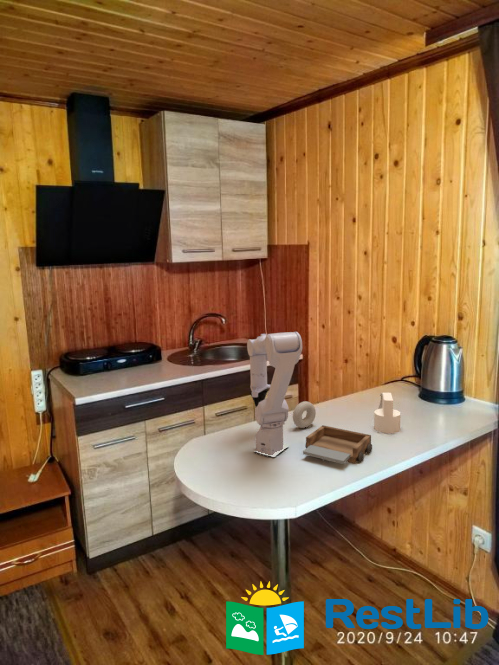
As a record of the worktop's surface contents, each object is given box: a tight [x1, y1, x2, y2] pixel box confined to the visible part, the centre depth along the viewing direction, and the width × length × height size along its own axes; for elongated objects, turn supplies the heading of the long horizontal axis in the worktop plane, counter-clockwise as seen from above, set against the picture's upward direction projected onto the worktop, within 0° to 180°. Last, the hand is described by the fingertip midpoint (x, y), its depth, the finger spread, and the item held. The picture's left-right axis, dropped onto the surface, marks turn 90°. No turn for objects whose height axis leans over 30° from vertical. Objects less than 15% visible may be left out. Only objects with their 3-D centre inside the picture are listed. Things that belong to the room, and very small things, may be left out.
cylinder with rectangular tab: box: [373, 392, 401, 434], centre depth 171 cm, size 9×9×12 cm
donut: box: [292, 400, 317, 429], centre depth 175 cm, size 10×3×10 cm, turn 124°
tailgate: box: [302, 445, 350, 465], centre depth 148 cm, size 2×14×5 cm
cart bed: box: [305, 425, 373, 465], centre depth 155 cm, size 12×19×5 cm, turn 55°
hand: (259, 410), depth 168 cm, fingers closed
